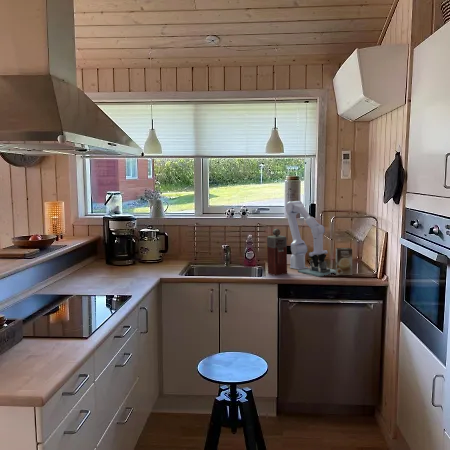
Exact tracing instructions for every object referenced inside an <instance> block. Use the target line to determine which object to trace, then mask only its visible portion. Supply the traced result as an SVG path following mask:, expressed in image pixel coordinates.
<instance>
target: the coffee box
mask: <svg viewBox="0 0 450 450" xmlns="http://www.w3.org/2000/svg"><path fill="white" fill-rule="evenodd" d="M335 270H336V273H335V276H337V275H352V276H353V248H351V247H335Z"/></svg>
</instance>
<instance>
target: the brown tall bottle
mask: <svg viewBox="0 0 450 450" xmlns="http://www.w3.org/2000/svg"><path fill="white" fill-rule="evenodd" d="M287 239H288V238H287V237H286V236H285V235H281V230H280V229H279V228H275V229H273V230H272V235H267V237H266V246H267V247H266V249H267V252H266V253H267V273H268V274H270V275H273V276H280V275H286V274H288V252H287V251H288V250H287V248H288V247H287V244H288V243H287Z"/></svg>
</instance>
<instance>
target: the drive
mask: <svg viewBox="0 0 450 450" xmlns="http://www.w3.org/2000/svg"><path fill="white" fill-rule="evenodd" d="M310 266H312V270H314V271H318V272H319V268H321V272H322V270H326V269H327V267H328V266H327V261H325V260H324V261H320V260H319V259H318V267H314V263H313V260H312V259H311V260H309V267H310Z"/></svg>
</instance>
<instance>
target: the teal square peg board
mask: <svg viewBox="0 0 450 450" xmlns="http://www.w3.org/2000/svg"><path fill="white" fill-rule="evenodd" d="M297 272H298V273H301V274H305V275H311V276H314V277H325V276H328V274H329V275H332V274H331V273H334V274H336V269H332V268H329V267H328V266H327V269H326V270H322V272H321V268H319V272H318V271H314V270H312V266H310V265H309V267H308V268H305V269H300V270H299V269H297ZM324 275H325V276H324Z"/></svg>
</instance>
